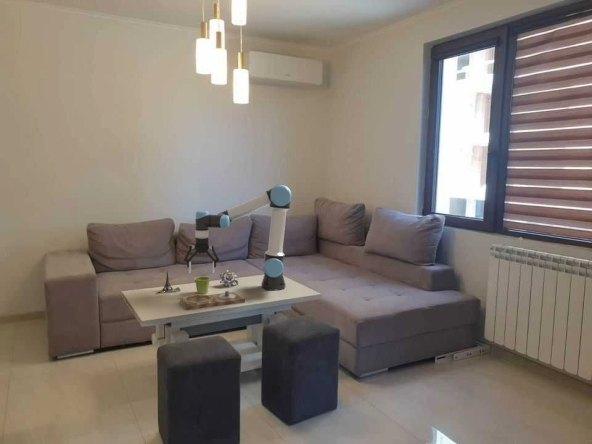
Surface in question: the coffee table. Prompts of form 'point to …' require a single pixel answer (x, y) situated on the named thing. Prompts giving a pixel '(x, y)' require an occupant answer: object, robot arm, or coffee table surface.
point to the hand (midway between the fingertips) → (201, 272)
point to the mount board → (210, 300)
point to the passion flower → (228, 278)
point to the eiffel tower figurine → (169, 287)
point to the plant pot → (202, 284)
